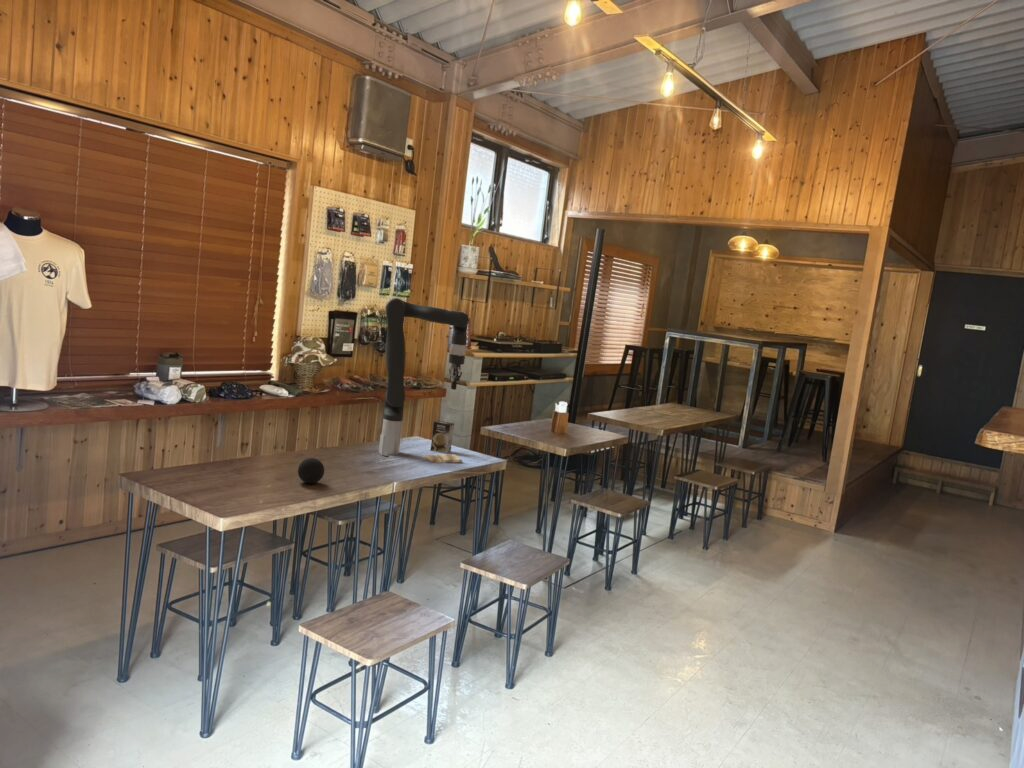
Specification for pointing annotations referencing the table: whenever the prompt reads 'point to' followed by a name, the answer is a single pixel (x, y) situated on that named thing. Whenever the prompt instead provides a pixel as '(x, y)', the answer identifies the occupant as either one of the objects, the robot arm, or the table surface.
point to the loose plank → (449, 458)
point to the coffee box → (442, 437)
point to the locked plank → (433, 459)
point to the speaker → (311, 470)
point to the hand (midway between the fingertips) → (453, 389)
